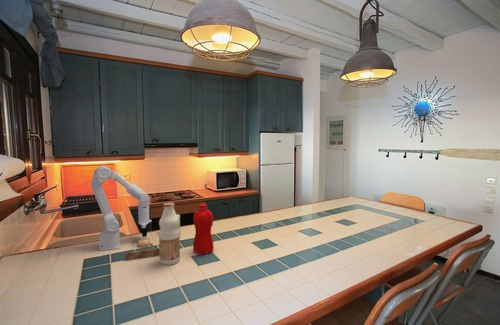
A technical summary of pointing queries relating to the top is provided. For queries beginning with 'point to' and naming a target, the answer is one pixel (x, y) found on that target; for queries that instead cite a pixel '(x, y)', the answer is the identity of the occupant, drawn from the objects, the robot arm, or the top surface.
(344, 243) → the top surface
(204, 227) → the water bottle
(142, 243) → the tan rounded pebble
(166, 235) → the fruit juice
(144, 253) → the mortise joint
